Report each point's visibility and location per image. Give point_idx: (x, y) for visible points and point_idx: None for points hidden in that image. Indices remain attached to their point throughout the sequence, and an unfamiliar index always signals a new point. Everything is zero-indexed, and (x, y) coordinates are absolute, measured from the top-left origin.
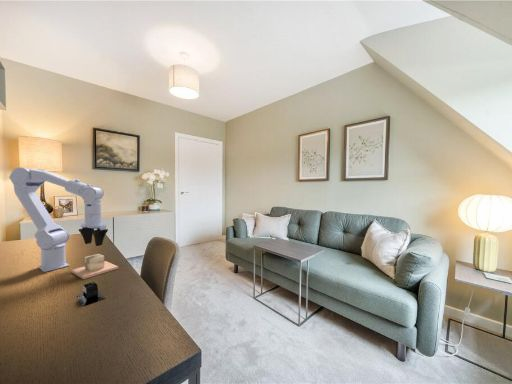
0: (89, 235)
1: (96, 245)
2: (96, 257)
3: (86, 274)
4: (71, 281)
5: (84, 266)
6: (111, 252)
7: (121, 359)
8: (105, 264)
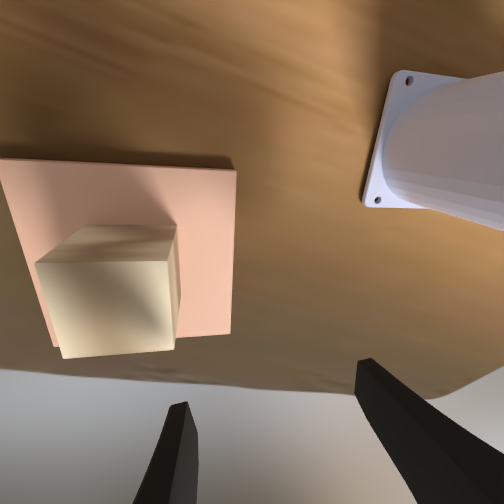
0: (423, 485)
1: (174, 410)
2: (58, 312)
3: (37, 190)
4: (29, 94)
5: (233, 240)
6: None
7: None
8: None
